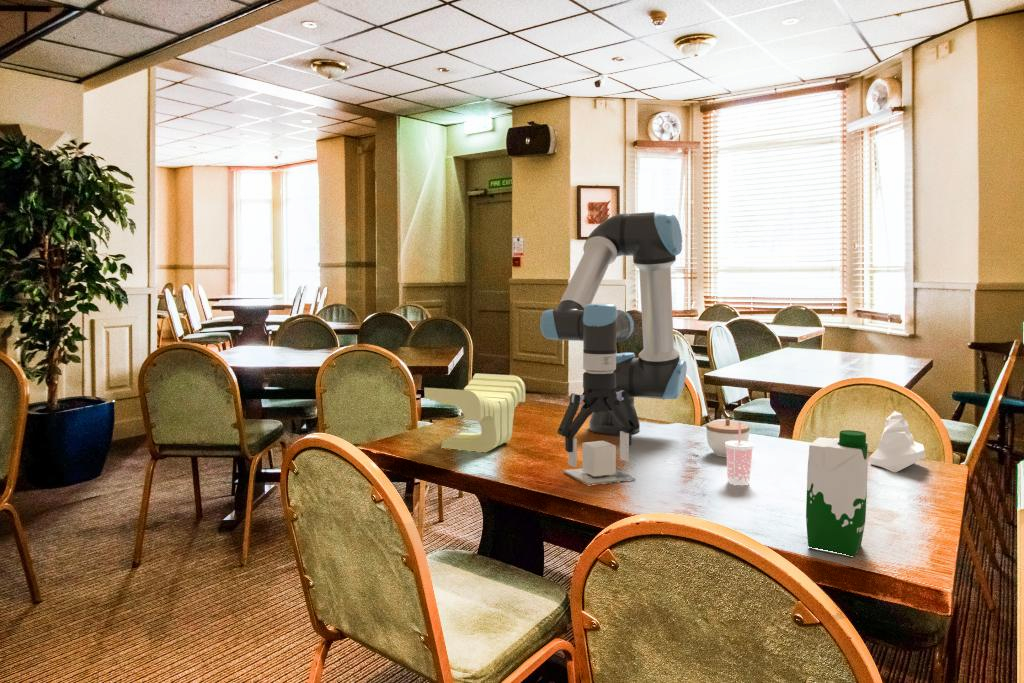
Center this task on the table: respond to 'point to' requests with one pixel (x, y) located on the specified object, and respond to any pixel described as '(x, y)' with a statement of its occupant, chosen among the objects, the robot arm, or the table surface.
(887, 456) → the soft serve ice cream
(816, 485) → the milk carton
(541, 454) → the table surface
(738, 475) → the beverage cup
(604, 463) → the cream cube
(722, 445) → the lidded jar
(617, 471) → the square grey base plate
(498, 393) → the slatted curved stool
